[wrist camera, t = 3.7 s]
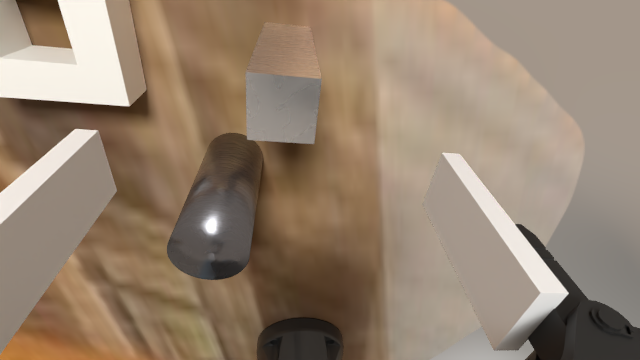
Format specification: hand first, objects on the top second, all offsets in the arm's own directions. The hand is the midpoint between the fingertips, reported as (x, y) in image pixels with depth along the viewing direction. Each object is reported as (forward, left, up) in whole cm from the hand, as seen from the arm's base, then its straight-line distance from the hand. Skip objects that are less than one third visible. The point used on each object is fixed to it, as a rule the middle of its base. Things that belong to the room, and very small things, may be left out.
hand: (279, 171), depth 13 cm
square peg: (0, 0, -20) cm, 20 cm away
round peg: (-12, +5, -20) cm, 24 cm away
